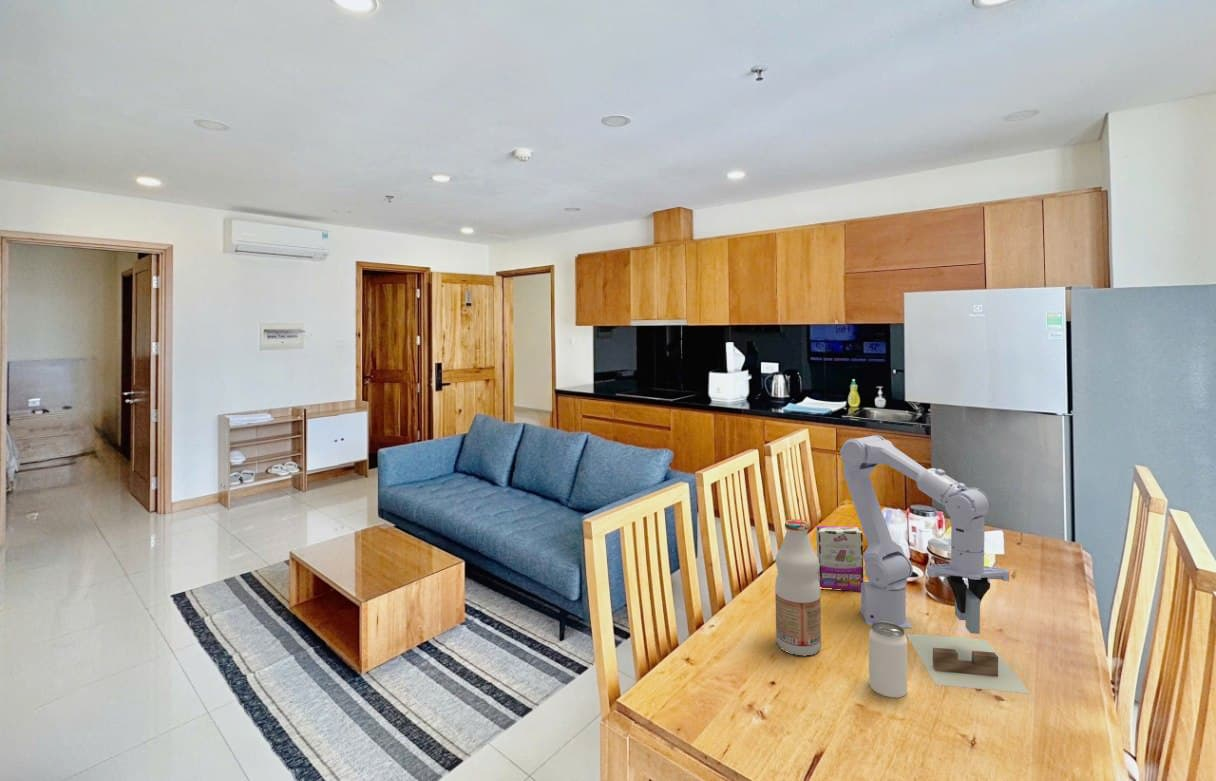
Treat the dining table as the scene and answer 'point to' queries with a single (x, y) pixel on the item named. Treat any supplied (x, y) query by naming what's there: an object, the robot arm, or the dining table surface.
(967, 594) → the grey flat block
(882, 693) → the can
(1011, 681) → the felt mat
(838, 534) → the candy bar box
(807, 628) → the fruit juice
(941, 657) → the walnut slotted plate
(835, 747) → the dining table surface
